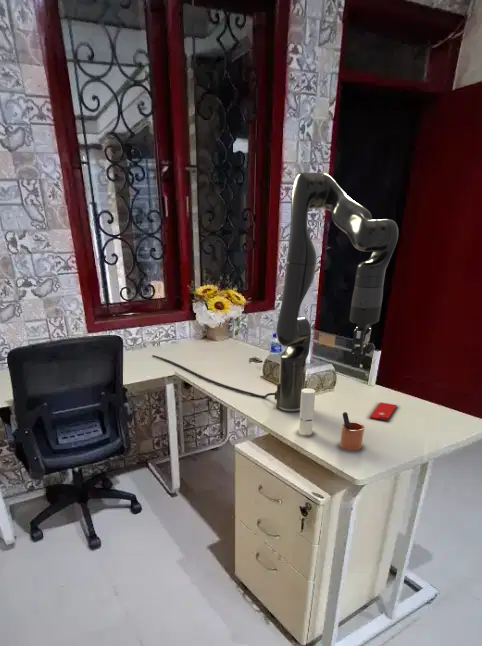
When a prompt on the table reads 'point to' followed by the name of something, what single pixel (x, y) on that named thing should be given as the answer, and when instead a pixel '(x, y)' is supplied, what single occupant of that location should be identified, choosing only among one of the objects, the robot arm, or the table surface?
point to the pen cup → (352, 436)
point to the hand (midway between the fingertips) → (358, 362)
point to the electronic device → (383, 411)
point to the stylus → (346, 420)
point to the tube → (306, 411)
